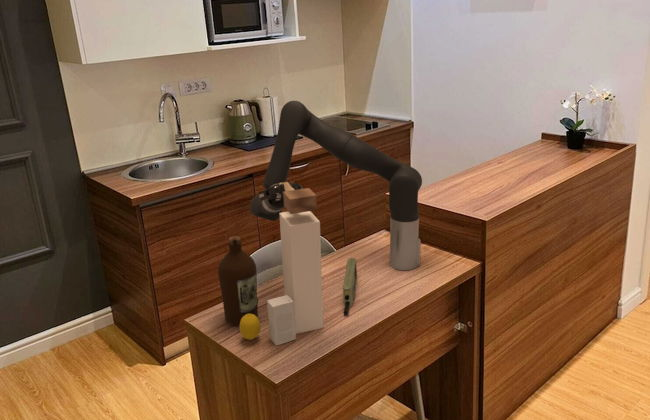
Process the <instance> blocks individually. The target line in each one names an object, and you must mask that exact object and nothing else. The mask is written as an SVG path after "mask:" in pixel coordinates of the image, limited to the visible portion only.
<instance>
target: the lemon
mask: <svg viewBox="0 0 650 420" xmlns="http://www.w3.org/2000/svg"><path fill="white" fill-rule="evenodd" d="M239 332H240V334H241V336H242V337H243V338H244V339H246V340H250V341H252V340H253V339H255V338H257V337H258V336H259V334H260V333H261V321H260V320H259V318H258V317H256V316H255V315H253V314H246V315H245V316H243V317H242V319H241V321H240V326H239Z"/></svg>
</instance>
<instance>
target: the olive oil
mask: <svg viewBox="0 0 650 420" xmlns="http://www.w3.org/2000/svg"><path fill="white" fill-rule="evenodd" d="M228 248H229V251H228V252H227V253H226V254H225V255H224V256H223V258H221V260H220V262H219V265H218V269H217V275H218V279H219V287H220V292H221V293H220V294H221V298H222V304H223V305H222V306H223V312H224V320H225V321H226V323H227V324H229V325H232V326H237V327H238V326H239V327H240V321H241V319H242V317H243V316H245V315H246V314H253V315H255V316H256V317H257V318H258V316H259V312H258V311H259V310H258V309H259V307H258V305H259V298H258V278H257V277H258V276H257V275H258V274H257V273H258V270H257V265H256V262H255V260H254V259H253V258H252V256H250V255H249V254H248V253H247V252H245V251H244V250H243V249H242V241H241V237H240V236H238V235H233V236H230V237H229V238H228Z"/></svg>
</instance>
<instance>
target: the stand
mask: <svg viewBox="0 0 650 420" xmlns="http://www.w3.org/2000/svg"><path fill="white" fill-rule="evenodd" d="M279 214H280V218H279V226H280V227H279V229H280V242H281V243H280V244H281V245H280V246H281V260H282V261H281V263H282V264H281V265H282V277H283V278H282V279H283V281H282V282H283V294H284V295H288V296H289V297H290V298H291V299H292V300H293V302H294V318H295V333H296V335H297V334H302V333H306V332H311V331H315V330H319V329H320V330H321V329H324V314H323V313H324V309H323V280H322V279H323V277H322V276H323V275H322V274H323V273H322V251H321V250H322V247H321V246H322V245H321V241H322V240H321V222H320V220H319V219H318V218H317V217H316V216H315V215H314V213H313V212H312V211H308V212H301V213H295V214H290V213H289V212H288V211H282V213H279ZM284 295H283V296H284Z"/></svg>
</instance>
